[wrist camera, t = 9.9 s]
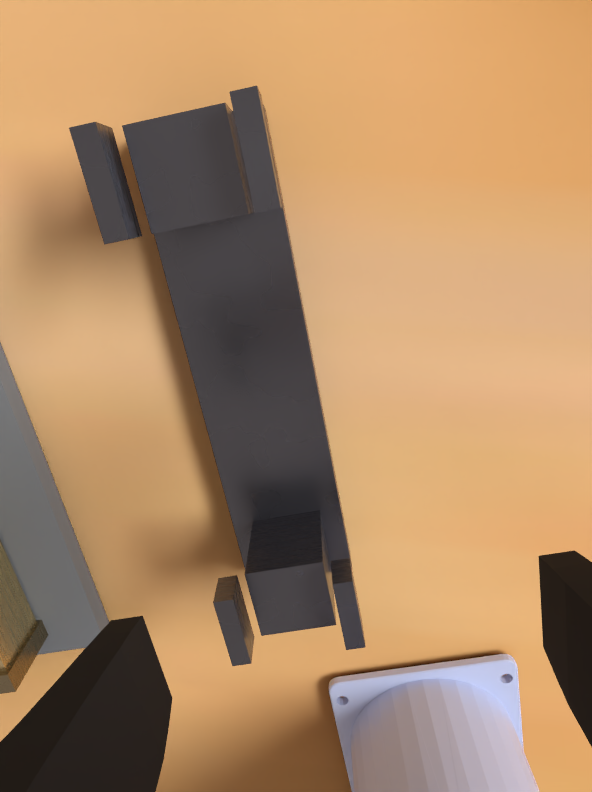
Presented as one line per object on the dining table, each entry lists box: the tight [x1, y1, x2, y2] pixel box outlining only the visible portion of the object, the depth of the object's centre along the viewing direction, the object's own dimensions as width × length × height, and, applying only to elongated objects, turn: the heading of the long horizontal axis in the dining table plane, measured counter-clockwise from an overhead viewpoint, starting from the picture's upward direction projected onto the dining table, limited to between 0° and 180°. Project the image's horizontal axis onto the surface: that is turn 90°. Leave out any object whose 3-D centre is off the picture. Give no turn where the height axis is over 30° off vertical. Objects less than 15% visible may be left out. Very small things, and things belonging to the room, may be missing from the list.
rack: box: [69, 86, 365, 666], centre depth 17 cm, size 16×4×5 cm, turn 11°
